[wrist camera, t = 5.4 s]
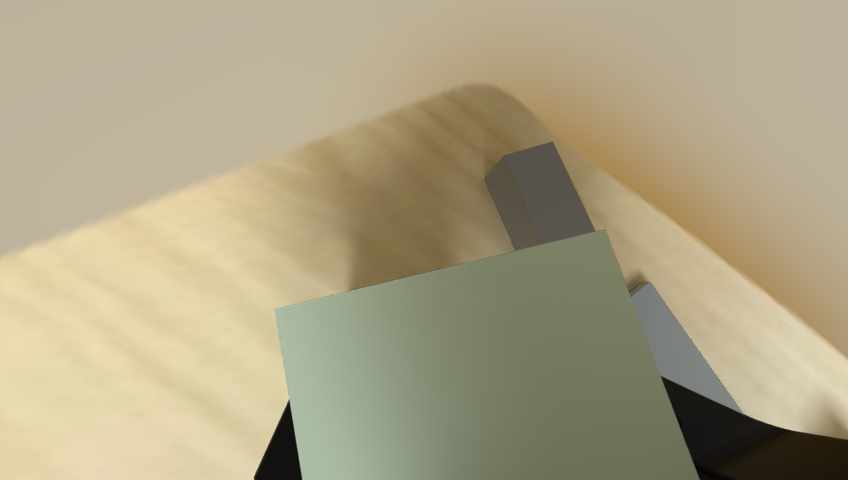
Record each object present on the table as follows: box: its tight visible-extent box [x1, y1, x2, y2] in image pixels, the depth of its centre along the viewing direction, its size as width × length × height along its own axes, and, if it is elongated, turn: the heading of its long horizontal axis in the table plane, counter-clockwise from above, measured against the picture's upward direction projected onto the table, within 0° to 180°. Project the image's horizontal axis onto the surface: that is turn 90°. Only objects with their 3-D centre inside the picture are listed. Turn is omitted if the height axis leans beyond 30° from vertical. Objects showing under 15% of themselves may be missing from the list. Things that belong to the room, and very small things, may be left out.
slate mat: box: [629, 282, 743, 414], centre depth 16 cm, size 14×12×1 cm
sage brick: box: [275, 229, 700, 480], centre depth 9 cm, size 4×4×12 cm
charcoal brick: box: [484, 142, 596, 251], centre depth 17 cm, size 6×3×3 cm, turn 21°
